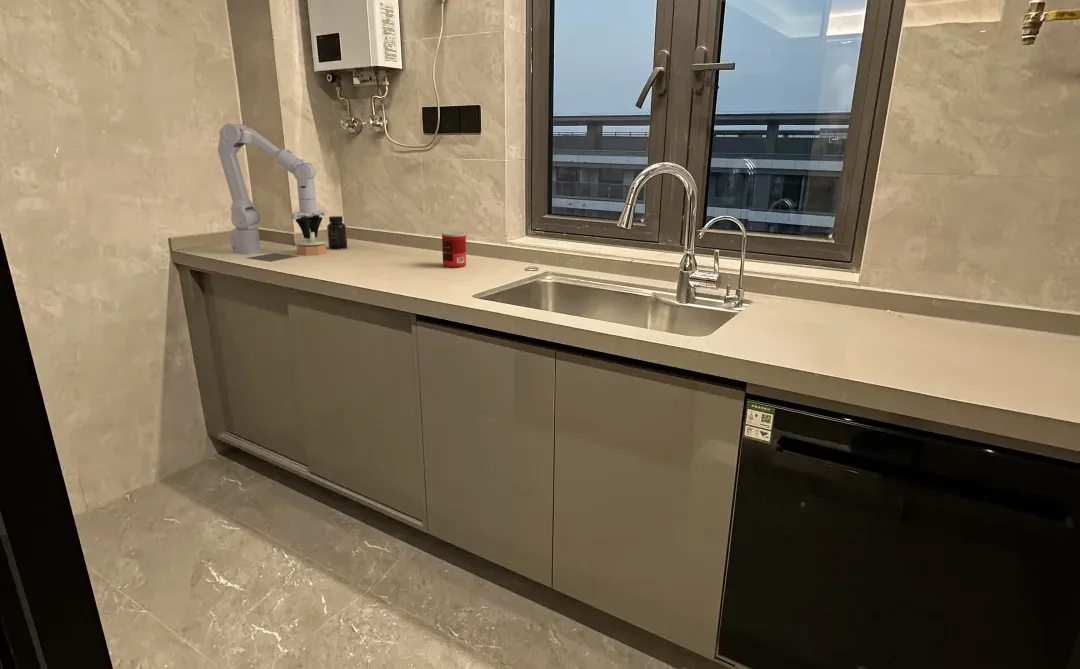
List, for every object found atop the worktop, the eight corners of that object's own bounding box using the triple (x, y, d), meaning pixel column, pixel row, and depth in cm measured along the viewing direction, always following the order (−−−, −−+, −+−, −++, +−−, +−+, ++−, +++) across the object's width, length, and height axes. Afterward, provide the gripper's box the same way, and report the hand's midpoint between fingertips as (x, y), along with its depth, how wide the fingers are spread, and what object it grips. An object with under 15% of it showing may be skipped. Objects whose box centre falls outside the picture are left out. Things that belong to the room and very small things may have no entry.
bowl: (292, 254, 221) (291, 245, 220) (312, 251, 230) (311, 241, 229) (311, 257, 217) (310, 247, 216) (332, 253, 226) (331, 243, 225)
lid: (290, 244, 220) (289, 233, 218) (309, 240, 228) (308, 229, 227) (313, 246, 216) (312, 234, 215) (332, 242, 225) (331, 231, 224)
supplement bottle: (351, 247, 238) (349, 216, 235) (337, 250, 233) (334, 217, 229) (339, 246, 242) (336, 215, 238) (324, 248, 236) (322, 216, 233)
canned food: (468, 264, 210) (467, 231, 207) (463, 268, 202) (462, 235, 199) (446, 263, 211) (445, 231, 208) (440, 267, 203) (439, 234, 200)
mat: (246, 259, 212) (245, 258, 212) (274, 254, 222) (274, 253, 222) (271, 262, 207) (270, 261, 207) (299, 257, 217) (298, 256, 217)
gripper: (299, 201, 210) (303, 241, 214) (330, 198, 222) (333, 236, 226) (284, 199, 213) (288, 239, 217) (316, 197, 225) (319, 234, 229)
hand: (310, 237), depth 222 cm, fingers closed on lid, 3 cm apart
